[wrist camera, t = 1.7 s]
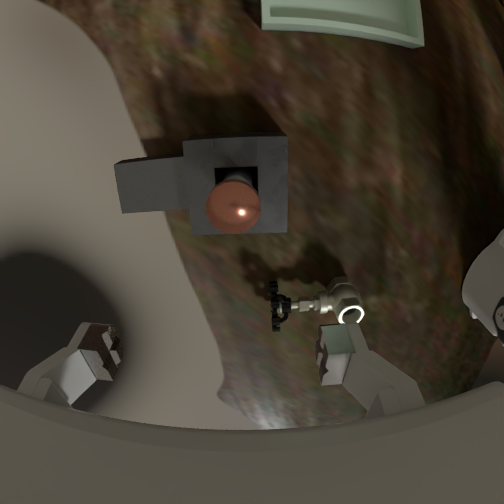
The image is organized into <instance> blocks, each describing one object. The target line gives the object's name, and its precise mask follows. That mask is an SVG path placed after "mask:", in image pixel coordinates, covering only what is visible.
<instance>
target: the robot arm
mask: <svg viewBox="0 0 504 504" xmlns="http://www.w3.org/2000/svg"><path fill="white" fill-rule="evenodd" d="M462 299H463V301H464V303H465V304H466V305H467V306H468V307H469V310H470V315H471V316H472V317H473V318H474V319H476V318H478V319H479V320H480V321H481V322H482V323H483V324H484V325H485V327H486V328H487V329H488V330H489V331H490V332H491V333H492V334H493V335H494V336H498V338H499V339H500V340H501V342H502V344H503V346H504V229H503V230H502V231H501V232H500V233H499V234H498V236H497V237H496V239H495V240H494V241H493V242H492V243H491V244H490V245H489V246H487V247H486V248H485V249H484V250H483V251H482V252H481V253H480V254H479V255H478V257H477V258H476V259H475V260H474V262H473V263H472V265H471V267H470V268H469V270H468V272H467V275H466V277H465V280H464V283H463V287H462ZM317 333H318V339H317V340H316V344H315V357H316V363H317V364H318V365H319V366H320V367H319V377H320V382H321V385H333V384H342V385H343V386H344V387H345V388H346V389H347V390H348V391H349V392H350V393H351V394H352V395H353V396H354V397H355V398H356V399H357V400H358V401H359V402H360V403H361V404H362V405H363V406H364V407H365V408H366V409H367V410H368V412H367V414H366V416H365V418H364V419H363V420H357V421H351V422H345V423H338V424H330V425H322V426H312V427H302V428H288V429H270V430H212V429H194V428H181V427H171V426H161V425H153V424H146V423H139V422H132V421H127V420H121V419H115V418H110V417H105V416H100V415H96V414H91V413H87V412H82V411H79V410H74V409H73V408H72V407H71V406H70V405H71V404H72V403H73V402H74V401H75V400H76V399H77V398H78V397H79V396H80V395H81V394H82V393H83V392H84V391H85V390H86V389H87V388H88V387H89V386H91V385H92V384H93V383H94V382H95V381H96V379H102V380H111V381H113V380H114V378H115V375H116V372H117V370H118V368H117V366H116V364H118V363H119V362H120V361H121V359H122V357H123V344H122V342H121V340H120V339H119V338H118V337H117V336H116V334H117V330H116V328H115V326H113V325H107V324H97V323H86V322H83V323H81V325H80V326H79V328H78V330H77V331H76V333H75V335H74V336H73V338H72V340H71V342H70V344H69V345H68V347H67V348H66V347H64V348H63V349H61V350H59V351H58V352H56V353H55V354H53V355H52V356H51V357H49V358H47V359H46V360H44V361H43V362H41V363H40V364H39V365H37V366H35V367H34V368H32V369H31V370H30V371H28V372H27V374H26V375H25V377H24V379H23V381H22V383H21V384H20V386H19V388H18V390H17V391H14V390H12V389H9V388H7V387H4V386H2V385H0V504H504V384H502V383H501V382H492V383H489V384H487V385H484V386H481V387H479V388H476V389H474V390H471V391H468V392H466V393H463V394H460V395H457V396H454V397H451V398H448V399H445V400H442V401H438V402H435V403H432V404H428V405H425V402H424V400H423V398H422V395H421V393H420V390H419V388H418V386H417V384H416V381H415V380H413V379H412V378H410V377H409V376H407V375H406V374H405V373H403V372H402V371H400V370H399V369H398V368H396V367H395V366H393V365H392V364H391V363H389V362H388V361H386V360H385V359H384V358H382V357H381V356H379V355H378V354H377V353H375V352H374V351H369V349H368V347H367V344H366V342H365V339H364V337H363V334H362V332H361V329H360V327H359V324H358V323H357V322H349V323H339V324H327V325H319V327H318V331H317Z"/></svg>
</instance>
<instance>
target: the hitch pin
mask: <svg viewBox="0 0 504 504" xmlns="http://www.w3.org/2000/svg"><path fill="white" fill-rule="evenodd" d="M260 212H261V204H260V197H259V195H258V193H257V191H256V190H255V188H254V187H253V186H252V171H251V169H250V168H249V167H229V168H228V169H227V171H226V174H225V177H224V179H223V181H222V182H220V183H218V184H217V185H216V186H215V187H214V188H213V189H212V190H211V192H210V194H209V196H208V198H207V201H206V214H207V217H208V219H209V221H210V222H211V224H212V225H213V226H214V227H215V228H217V229H218V230H220V231H222V232H225V233H229V234H238V233H242V232H245V231H247V230H249V229H250V228H252V227H253V226H254V225H255V224H256V222H257V221H258V219H259V216H260Z"/></svg>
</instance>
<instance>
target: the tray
mask: <svg viewBox="0 0 504 504" xmlns="http://www.w3.org/2000/svg"><path fill="white" fill-rule="evenodd" d="M260 4H261V29H262V30H287V31H306V32H319V33H329V34H338V35H345V36H352V37H359V38H365V39H370V40H376V41H381V42H386V43H390V44H395V45H399V46H403V47H407V48H411V49H413V48H418V47H423V46H424V33H423V22H422V13H421V5H420V0H260Z"/></svg>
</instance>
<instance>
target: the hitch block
mask: <svg viewBox="0 0 504 504" xmlns="http://www.w3.org/2000/svg"><path fill="white" fill-rule="evenodd" d="M182 143H183V153H180V154H170V155H160V156H151V157H143V158H135V159H128V160H122V161H120V162H118V163H116V164H114V169H115V176H116V182H117V188H118V193H119V199H120V204H121V209H122V213H135V212H149V211H164V210H182V209H189V213H190V221H191V229H192V235H209V234H229V233H225V232H222V231H220V230H218V229H217V228H215V227H214V226H213V225H212V224H211V222H210V221H209V219H208V217H207V214H206V201H207V198H208V196H209V194H210V192H211V190H212V189H213V188H214V187H215V186H216V185H217V184H218V183H220V182H221V174H220V168H223V167H248V166H257V176H258V192H257V193H258V195H259V197H260V204H261V212H260V216H259V219H258V221H257V222H256V224H255V225H254V226H253V227H252V228H250V229H249V230H247V231H245V232H242V233H283V232H287V209H288V136H287V135H286V134H285V133H284V132H283V131H276V132H235V133H217V134H202V135H192V136H190V137H189V138H187V139H185V140H183V141H182ZM242 233H238V234H242Z"/></svg>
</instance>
